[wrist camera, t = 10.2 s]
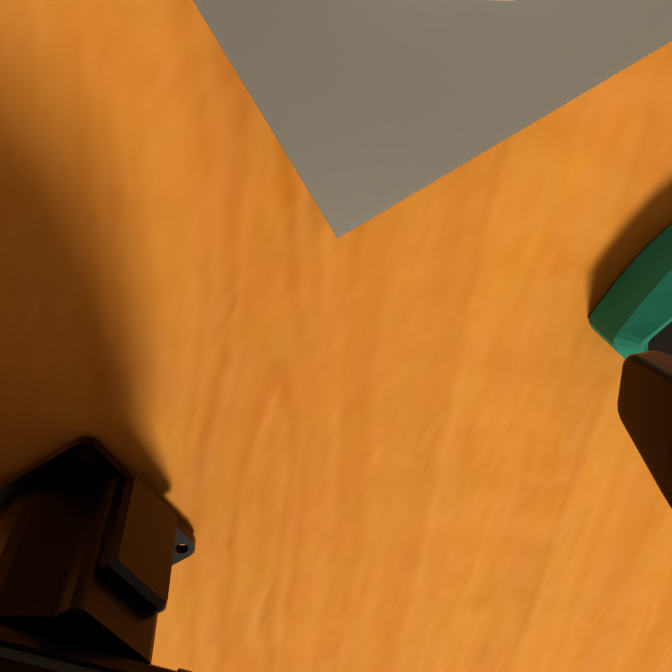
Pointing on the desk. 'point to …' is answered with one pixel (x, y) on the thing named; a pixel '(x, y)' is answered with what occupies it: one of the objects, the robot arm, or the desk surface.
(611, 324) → the digital multimeter
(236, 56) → the ring holder
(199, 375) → the desk surface
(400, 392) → the desk surface
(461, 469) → the desk surface
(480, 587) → the desk surface
